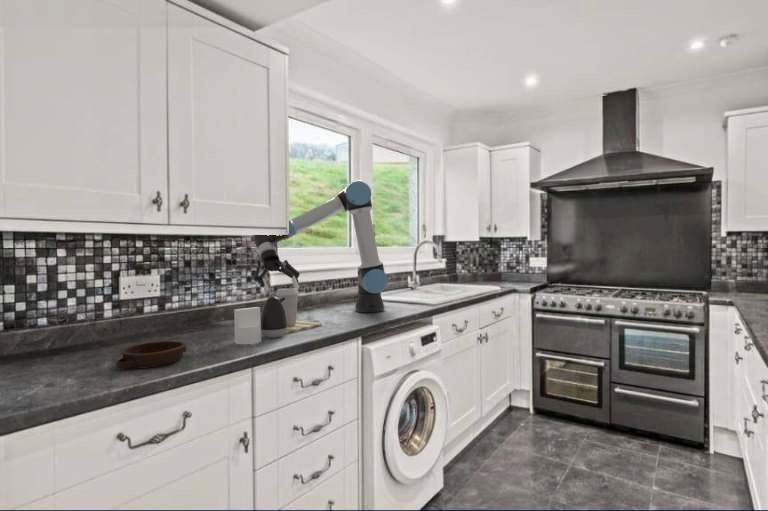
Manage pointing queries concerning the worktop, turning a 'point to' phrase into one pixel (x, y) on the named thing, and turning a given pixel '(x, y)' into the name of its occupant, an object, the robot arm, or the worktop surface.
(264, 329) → the dark egg shaped speaker
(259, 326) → the grey square canister
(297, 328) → the birch board
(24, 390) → the worktop surface
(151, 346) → the dish
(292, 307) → the coffee cup
